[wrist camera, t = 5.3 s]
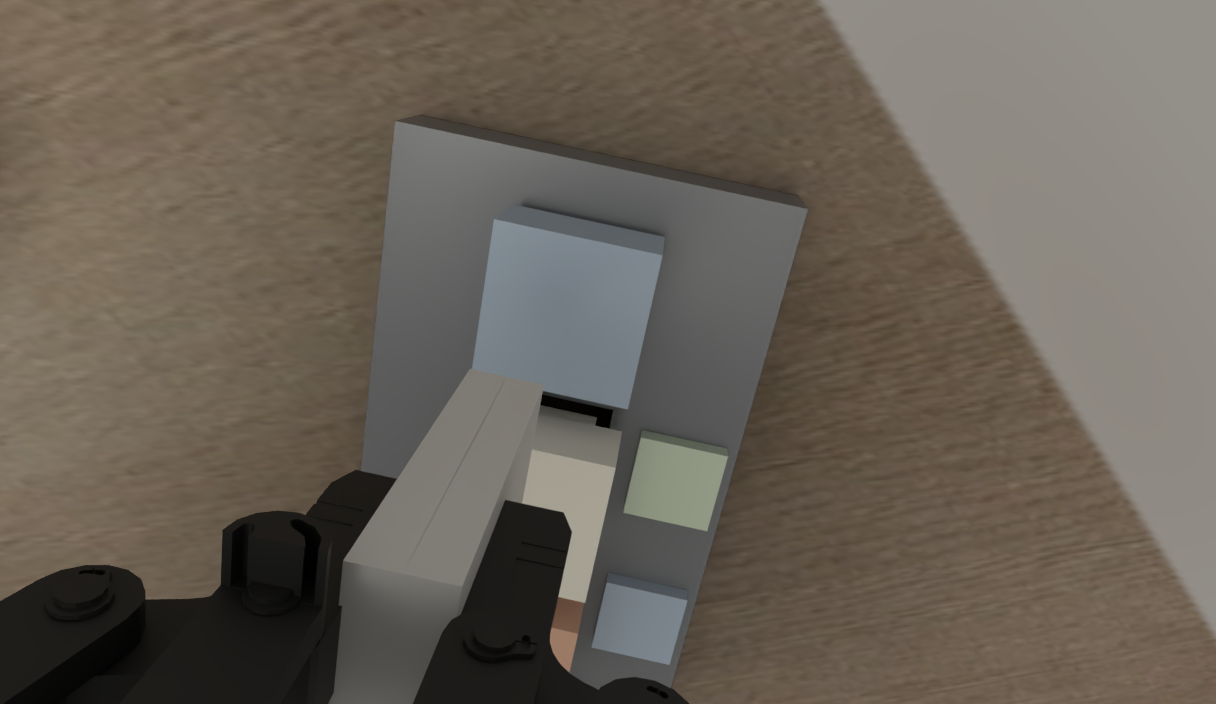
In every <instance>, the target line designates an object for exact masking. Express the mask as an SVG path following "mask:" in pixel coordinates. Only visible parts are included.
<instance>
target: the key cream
mask: <svg viewBox="0 0 1216 704" xmlns="http://www.w3.org/2000/svg"><path fill="white" fill-rule="evenodd" d="M596 420H597V417H593V416H588V415H584V414H579V413H575V412H570V411H565V410H561V409H556V408H552V407H547V406H543V405H540V409H539V414H538V420H537V425H536V431H535V436H534V441H533V447H532V452H531V458H530V463H529V469H528V474H527V480H526V485H525V490H524V496H523V501H522V504H527V505H532V506H536V507H541V508H546V509H550V510H555V511H560V512H564V514H565V517H566V519H567V521H568V524H569V526H570V528H571V531H572V535H571V540H570V544H569V549H568V554H567V559H566V563H565V568H564V573H563V578H562V582H561V587H560V592H559V596H558V597H561V598H565V599H570V600H574V601H579V602H583V603H585V601H586V597H587V593H588V588H589V584H590V579H591V575H592V571H593V566H594V562H595V557H596V553H597V549H598V544H599V540H600V535H601V531H602V527H603V522H604V518H605V513H606V509H607V505H608V500H609V496H610V491H611V487H612V482H613V478H614V474H615V469H616V464H617V458H618V452H619V447H620V441H621V435H622V431H617V430H613V429H608V428H604V427H599V426H595V425H596Z"/></svg>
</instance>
